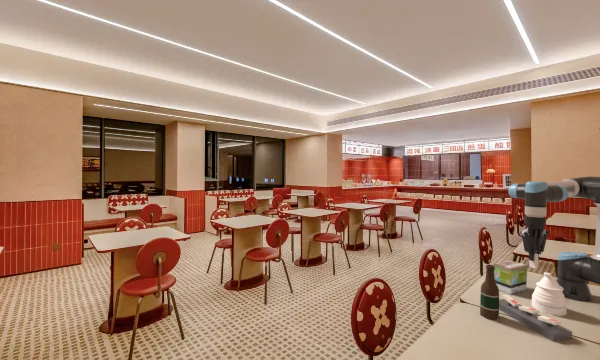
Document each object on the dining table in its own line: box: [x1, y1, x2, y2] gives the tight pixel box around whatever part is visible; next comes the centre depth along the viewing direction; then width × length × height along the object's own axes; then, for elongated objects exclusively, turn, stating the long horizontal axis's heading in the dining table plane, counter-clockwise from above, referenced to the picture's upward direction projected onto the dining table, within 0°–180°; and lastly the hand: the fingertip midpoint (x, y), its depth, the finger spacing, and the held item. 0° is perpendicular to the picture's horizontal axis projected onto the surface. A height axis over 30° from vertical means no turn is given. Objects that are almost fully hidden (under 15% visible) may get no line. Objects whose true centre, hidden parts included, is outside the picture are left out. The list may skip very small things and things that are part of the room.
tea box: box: [493, 259, 528, 295], centre depth 160 cm, size 15×10×15 cm
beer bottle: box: [479, 264, 500, 321], centre depth 131 cm, size 8×8×24 cm
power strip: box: [499, 298, 573, 342], centre depth 127 cm, size 29×9×4 cm, turn 9°
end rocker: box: [538, 315, 562, 325], centre depth 118 cm, size 7×3×1 cm, turn 9°
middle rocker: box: [518, 305, 540, 314], centre depth 127 cm, size 7×3×1 cm, turn 9°
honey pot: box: [531, 271, 568, 317], centre depth 137 cm, size 13×13×18 cm
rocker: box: [501, 293, 521, 307], centre depth 136 cm, size 7×3×1 cm, turn 9°
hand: (533, 267), depth 126 cm, fingers closed
